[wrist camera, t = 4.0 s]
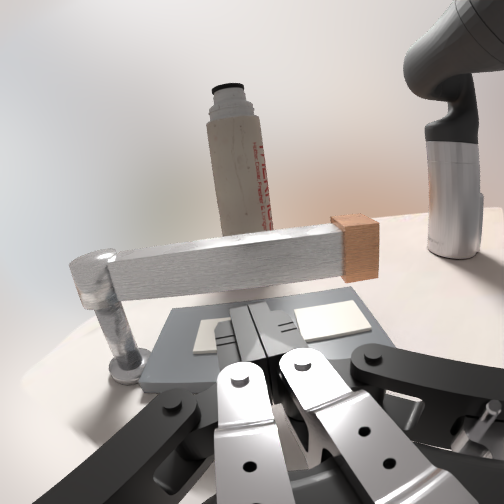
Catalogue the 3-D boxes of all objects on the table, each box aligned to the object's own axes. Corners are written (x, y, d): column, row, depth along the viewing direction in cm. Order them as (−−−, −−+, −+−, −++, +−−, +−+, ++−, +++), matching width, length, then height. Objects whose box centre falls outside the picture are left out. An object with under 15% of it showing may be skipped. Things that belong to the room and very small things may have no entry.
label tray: (350, 295, 30) (351, 283, 29) (396, 362, 18) (399, 348, 18) (174, 317, 30) (171, 306, 30) (143, 392, 19) (136, 379, 18)
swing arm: (75, 313, 18) (58, 266, 16) (97, 291, 21) (84, 250, 20) (380, 280, 17) (381, 224, 16) (359, 260, 21) (358, 212, 20)
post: (161, 354, 24) (139, 289, 22) (148, 386, 19) (118, 316, 17) (121, 354, 24) (97, 293, 22) (105, 383, 20) (73, 317, 17)
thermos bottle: (283, 253, 46) (262, 85, 38) (263, 271, 40) (237, 74, 31) (242, 251, 50) (221, 96, 42) (217, 268, 44) (191, 90, 35)
